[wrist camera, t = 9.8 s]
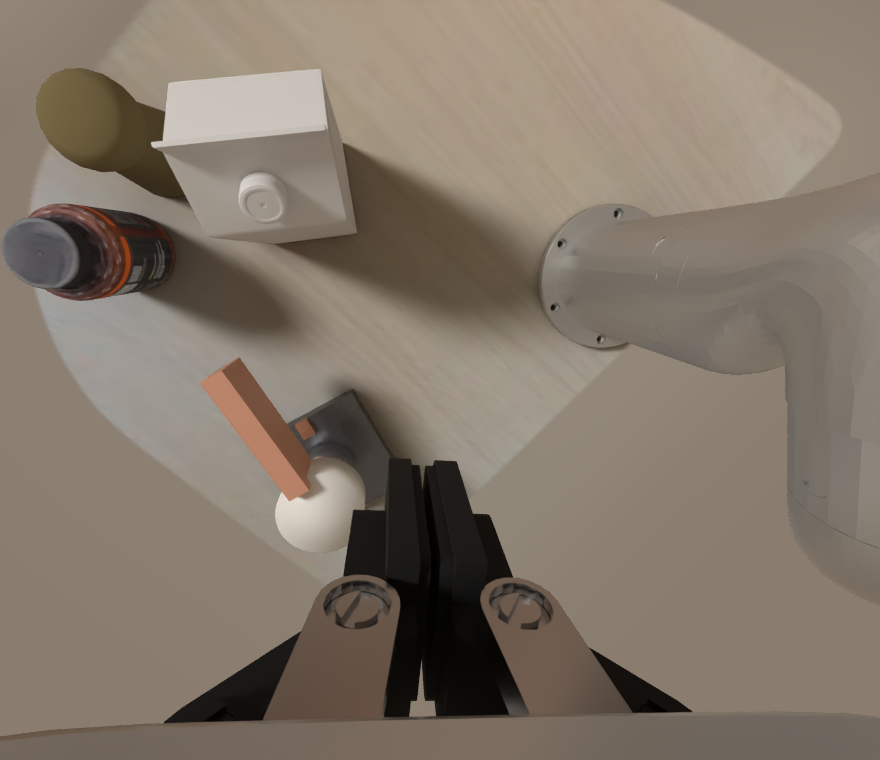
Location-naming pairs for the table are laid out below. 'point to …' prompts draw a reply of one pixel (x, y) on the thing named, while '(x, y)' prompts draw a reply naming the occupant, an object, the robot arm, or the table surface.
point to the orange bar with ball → (289, 465)
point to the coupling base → (346, 440)
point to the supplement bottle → (88, 251)
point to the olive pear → (105, 129)
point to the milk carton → (259, 157)
